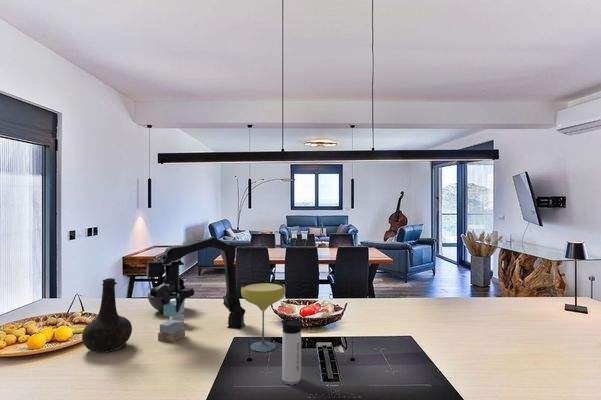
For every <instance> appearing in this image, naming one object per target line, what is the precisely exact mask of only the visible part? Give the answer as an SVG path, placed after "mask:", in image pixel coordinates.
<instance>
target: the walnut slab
mask: <svg viewBox="0 0 601 400" xmlns="http://www.w3.org/2000/svg"><path fill="white" fill-rule="evenodd" d="M185 336H186V328H184V329H183V330H181V331H179V332H177V333H175V334H174V335H172V334H165V333H160V331H159V332H158V333H157V341H159V342H167V343H176V342H178V341H179V340H181V339H183V338H185Z"/></svg>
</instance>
